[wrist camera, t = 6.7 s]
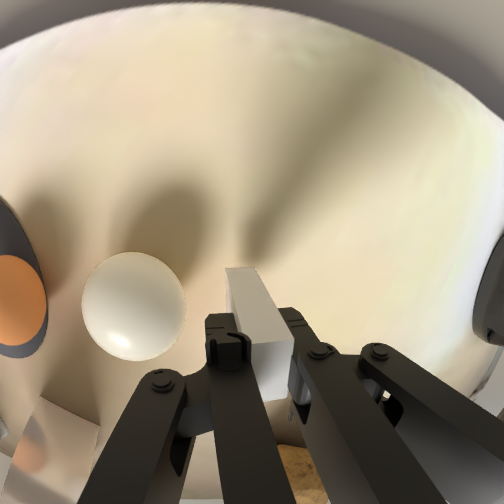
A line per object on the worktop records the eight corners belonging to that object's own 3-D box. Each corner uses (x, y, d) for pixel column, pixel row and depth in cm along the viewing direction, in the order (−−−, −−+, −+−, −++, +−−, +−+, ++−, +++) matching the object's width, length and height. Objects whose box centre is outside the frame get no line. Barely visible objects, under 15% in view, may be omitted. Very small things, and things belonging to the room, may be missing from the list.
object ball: (19, 265, 9) (-52, 280, 6) (51, 359, 11) (-17, 365, 8) (43, 239, 14) (-18, 251, 11) (60, 313, 15) (3, 321, 13)
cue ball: (75, 301, 8) (63, 254, 12) (119, 399, 10) (91, 337, 14) (202, 258, 11) (152, 229, 15) (213, 354, 13) (165, 308, 17)
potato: (305, 405, 21) (338, 475, 13) (328, 457, 25) (350, 504, 18) (205, 439, 20) (213, 511, 13) (256, 482, 25) (269, 531, 17)
